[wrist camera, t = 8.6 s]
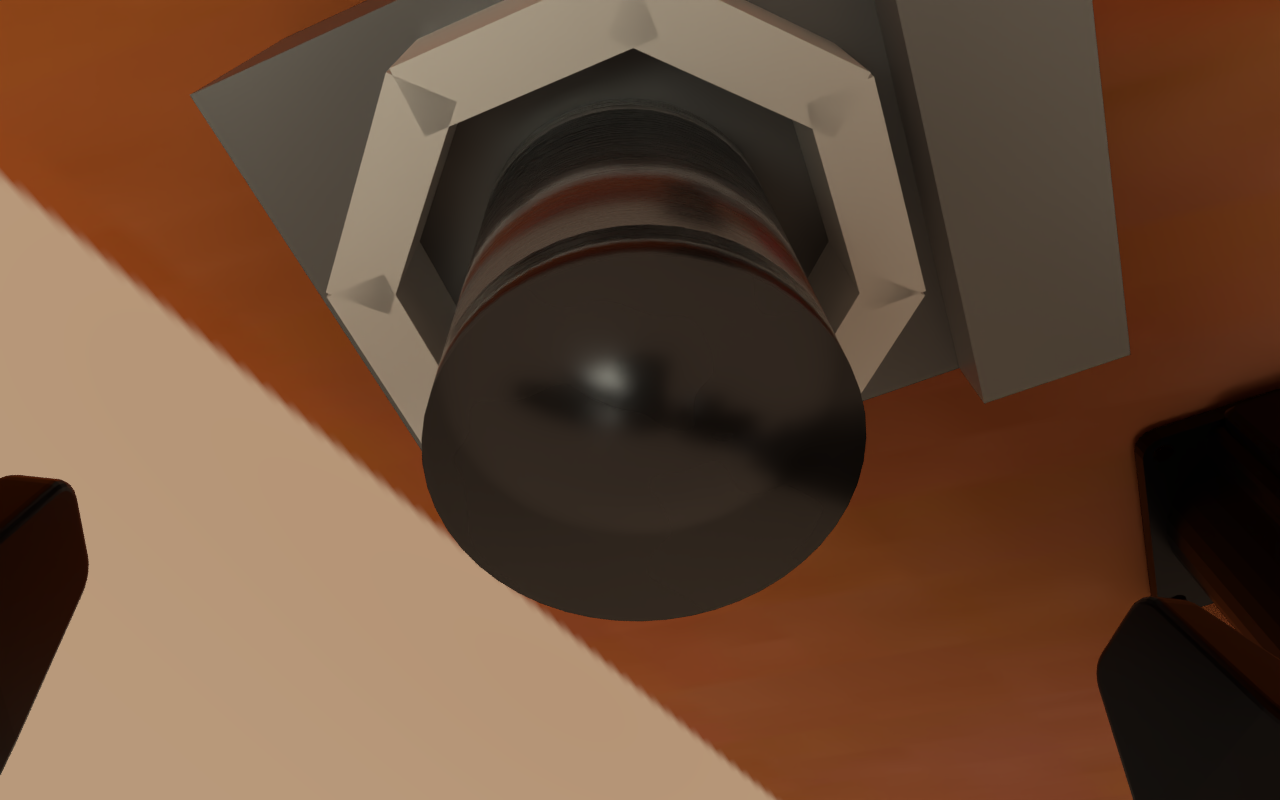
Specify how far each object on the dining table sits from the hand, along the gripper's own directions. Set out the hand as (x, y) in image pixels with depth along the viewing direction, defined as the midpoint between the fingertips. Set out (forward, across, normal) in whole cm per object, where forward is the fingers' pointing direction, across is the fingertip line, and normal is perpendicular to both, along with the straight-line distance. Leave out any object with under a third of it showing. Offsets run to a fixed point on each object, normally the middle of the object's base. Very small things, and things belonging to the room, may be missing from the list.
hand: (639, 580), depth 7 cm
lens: (+8, 0, 0) cm, 8 cm away
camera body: (+12, -1, 0) cm, 12 cm away
